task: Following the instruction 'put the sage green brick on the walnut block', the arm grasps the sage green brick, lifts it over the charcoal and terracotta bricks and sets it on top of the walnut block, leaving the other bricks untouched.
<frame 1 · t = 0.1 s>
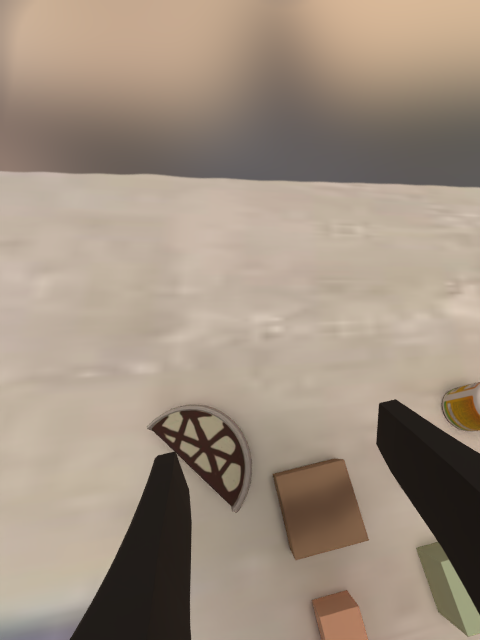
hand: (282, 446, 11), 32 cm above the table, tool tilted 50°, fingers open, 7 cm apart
sage brick: (443, 574, 37), on the table
food container: (216, 442, 42), on the table
walnut block: (313, 501, 40), on the table
terracotta brick: (337, 628, 35), on the table
supplement bottle: (461, 409, 43), on the table
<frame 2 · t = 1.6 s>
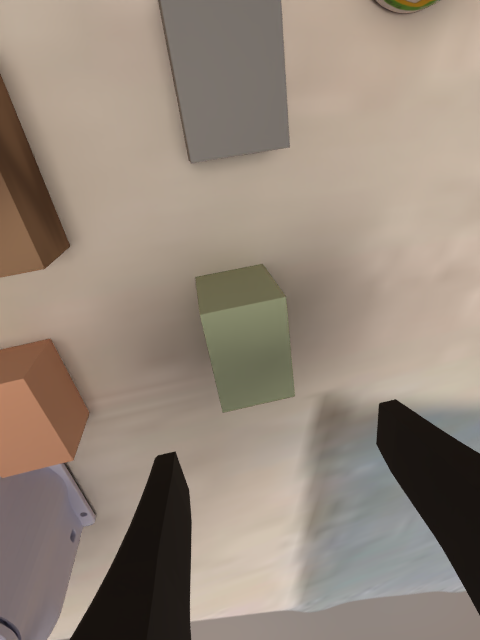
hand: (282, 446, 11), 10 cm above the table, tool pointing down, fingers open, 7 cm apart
sage brick: (236, 314, 21), on the table
charcoal brick: (218, 81, 15), on the table
terracotta brick: (39, 384, 21), on the table
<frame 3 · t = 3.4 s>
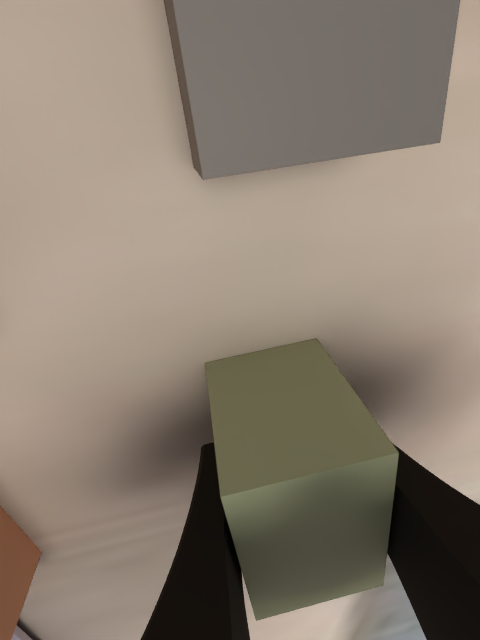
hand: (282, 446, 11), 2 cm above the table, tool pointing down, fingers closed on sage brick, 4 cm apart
sage brick: (270, 413, 13), on the table, touching gripper
charcoal brick: (255, 8, 7), on the table
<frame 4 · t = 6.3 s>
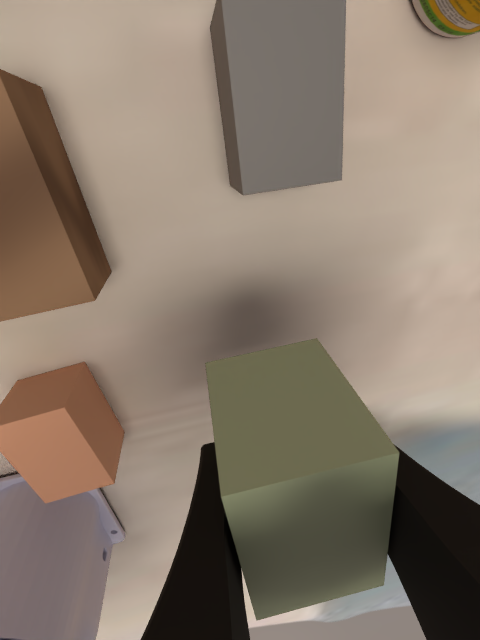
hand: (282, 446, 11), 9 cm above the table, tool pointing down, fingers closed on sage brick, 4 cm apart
sage brick: (270, 413, 13), point 8 cm above the table, touching gripper
charcoal brick: (264, 108, 15), on the table
terracotta brick: (75, 406, 21), on the table
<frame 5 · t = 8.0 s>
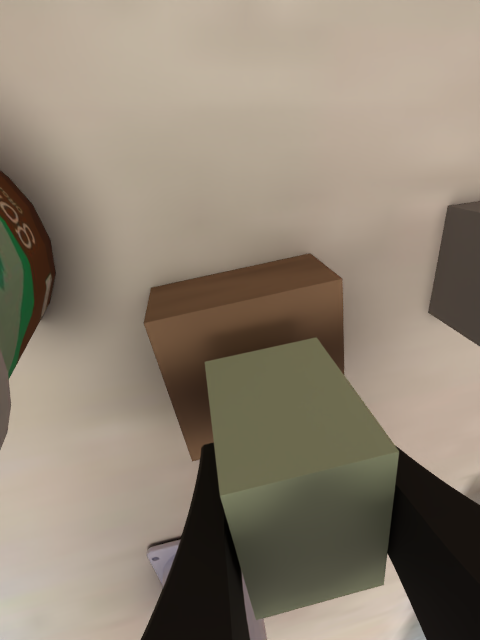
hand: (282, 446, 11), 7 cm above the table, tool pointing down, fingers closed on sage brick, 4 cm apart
sage brick: (270, 412, 13), point 6 cm above the table, touching gripper
charcoal brick: (469, 257, 18), on the table
walnut block: (243, 336, 18), on the table
when the fingers open (7 cm above the table, at t = 9.2 s): sage brick drops 2 cm, resting on walnut block.
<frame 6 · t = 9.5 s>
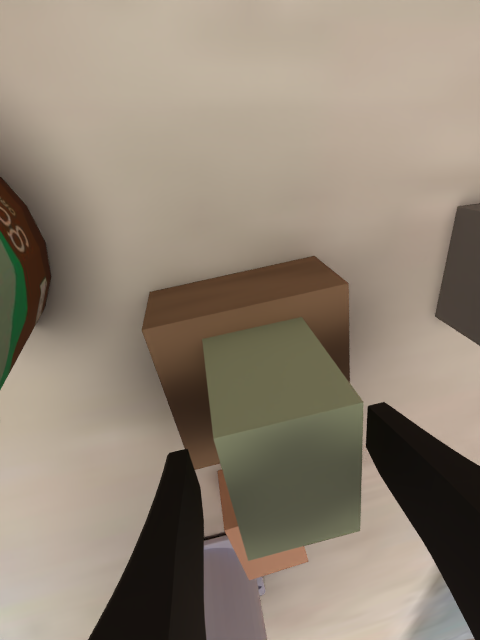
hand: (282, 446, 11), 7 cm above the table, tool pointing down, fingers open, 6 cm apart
sage brick: (262, 386, 14), point 4 cm above the table, touching walnut block
charcoal brick: (478, 259, 18), on the table
walnut block: (245, 340, 18), on the table, touching sage brick
terracotta brick: (256, 487, 23), on the table
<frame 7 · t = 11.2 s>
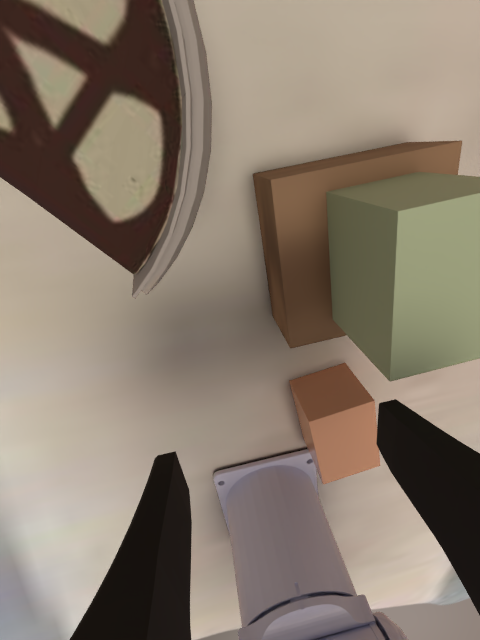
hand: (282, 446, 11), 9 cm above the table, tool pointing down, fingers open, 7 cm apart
sage brick: (371, 251, 15), point 4 cm above the table, touching walnut block
food container: (94, 64, 13), on the table
walnut block: (331, 235, 19), on the table, touching sage brick
terracotta brick: (322, 402, 24), on the table
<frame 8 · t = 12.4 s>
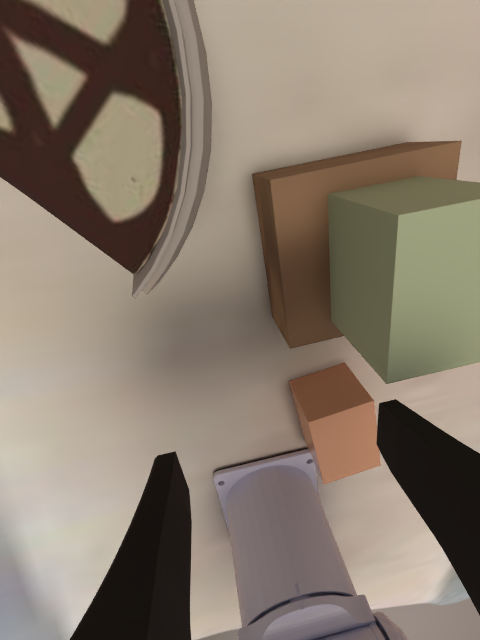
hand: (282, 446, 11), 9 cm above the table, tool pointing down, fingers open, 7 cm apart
sage brick: (371, 254, 15), point 4 cm above the table, touching walnut block
food container: (94, 64, 13), on the table
walnut block: (331, 235, 19), on the table, touching sage brick
terracotta brick: (322, 402, 24), on the table
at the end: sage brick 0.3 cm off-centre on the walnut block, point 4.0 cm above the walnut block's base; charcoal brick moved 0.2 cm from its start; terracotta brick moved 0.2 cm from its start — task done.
